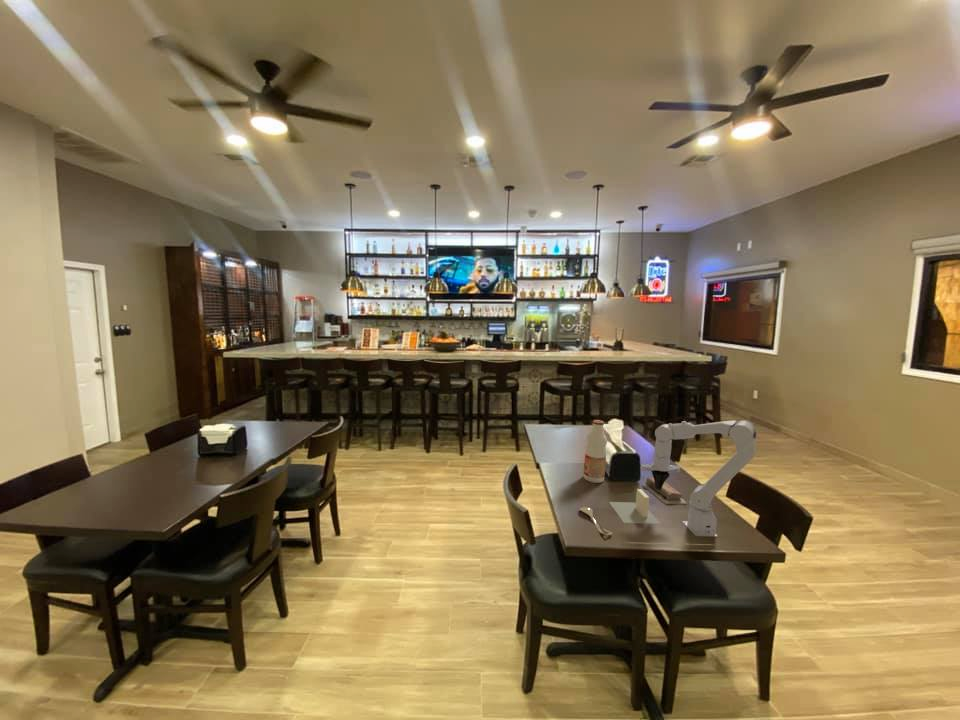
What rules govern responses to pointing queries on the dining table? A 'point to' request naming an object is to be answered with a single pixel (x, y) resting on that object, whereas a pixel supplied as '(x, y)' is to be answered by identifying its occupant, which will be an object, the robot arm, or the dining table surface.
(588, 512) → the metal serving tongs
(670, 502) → the packaged product
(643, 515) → the deck
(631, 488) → the dining table surface
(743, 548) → the dining table surface
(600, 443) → the fruit juice
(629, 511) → the mat
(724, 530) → the dining table surface
